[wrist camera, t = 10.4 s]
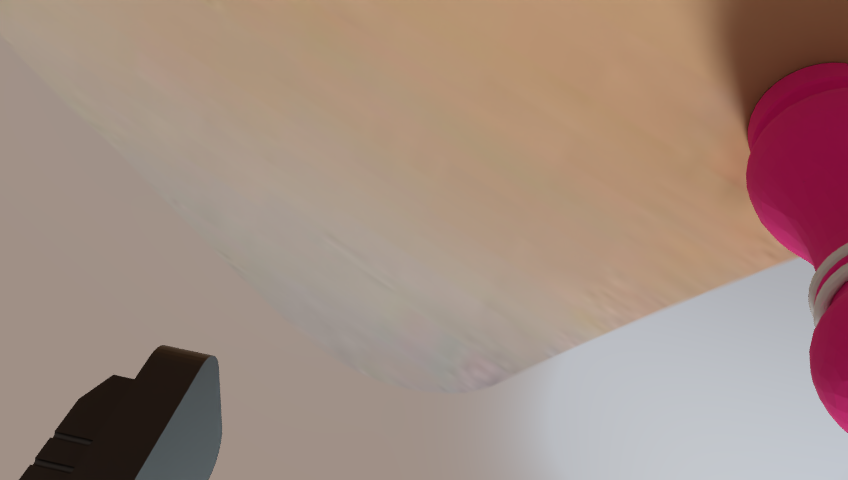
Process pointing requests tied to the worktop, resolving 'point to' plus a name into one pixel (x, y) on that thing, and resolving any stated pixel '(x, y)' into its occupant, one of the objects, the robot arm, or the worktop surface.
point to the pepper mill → (809, 204)
